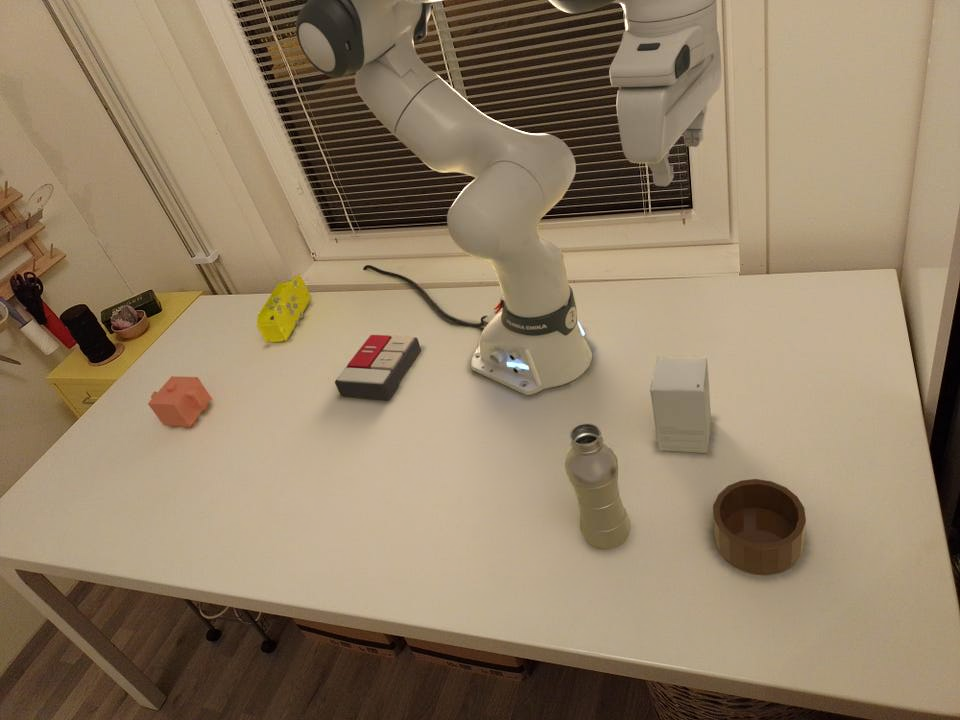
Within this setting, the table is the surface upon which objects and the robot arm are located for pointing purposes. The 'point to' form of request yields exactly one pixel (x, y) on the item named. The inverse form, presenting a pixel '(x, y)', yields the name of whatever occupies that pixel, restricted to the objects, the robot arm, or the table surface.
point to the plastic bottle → (596, 487)
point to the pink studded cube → (180, 401)
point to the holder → (759, 526)
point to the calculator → (378, 367)
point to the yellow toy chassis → (283, 310)
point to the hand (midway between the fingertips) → (679, 163)
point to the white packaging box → (681, 404)
